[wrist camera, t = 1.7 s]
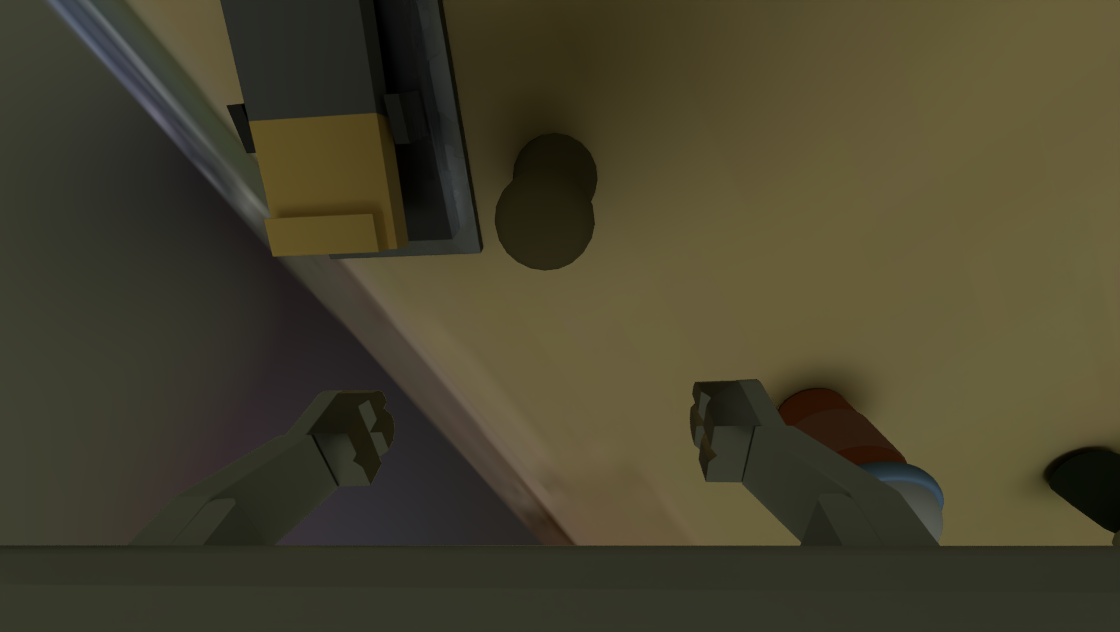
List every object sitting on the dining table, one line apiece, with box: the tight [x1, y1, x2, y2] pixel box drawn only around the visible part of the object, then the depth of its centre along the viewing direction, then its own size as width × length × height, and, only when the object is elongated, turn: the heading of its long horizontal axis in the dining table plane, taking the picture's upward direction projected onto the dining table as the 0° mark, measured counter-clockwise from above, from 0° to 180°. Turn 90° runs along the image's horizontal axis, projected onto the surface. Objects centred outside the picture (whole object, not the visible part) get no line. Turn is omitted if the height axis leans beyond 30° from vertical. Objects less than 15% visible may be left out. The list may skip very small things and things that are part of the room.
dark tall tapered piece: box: [495, 133, 597, 270], centre depth 25 cm, size 6×6×11 cm
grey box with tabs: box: [227, 0, 483, 259], centre depth 25 cm, size 20×12×7 cm, turn 4°
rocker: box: [220, 0, 409, 256], centre depth 22 cm, size 14×7×3 cm, turn 4°
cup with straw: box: [778, 389, 944, 542], centre depth 32 cm, size 9×9×18 cm
